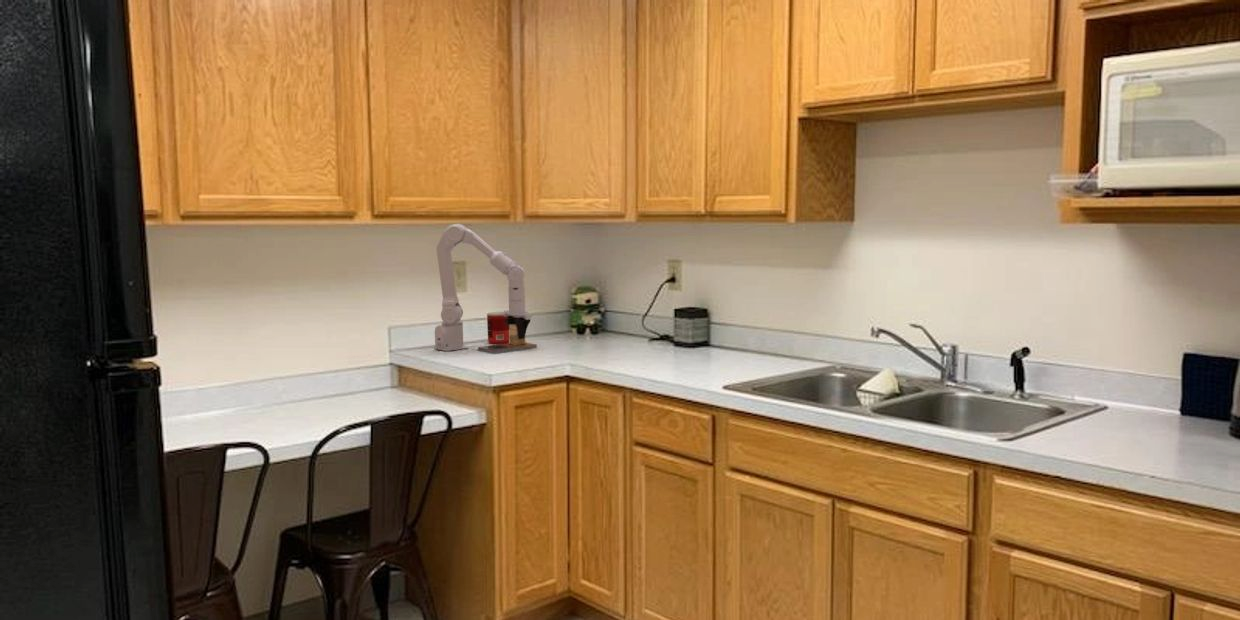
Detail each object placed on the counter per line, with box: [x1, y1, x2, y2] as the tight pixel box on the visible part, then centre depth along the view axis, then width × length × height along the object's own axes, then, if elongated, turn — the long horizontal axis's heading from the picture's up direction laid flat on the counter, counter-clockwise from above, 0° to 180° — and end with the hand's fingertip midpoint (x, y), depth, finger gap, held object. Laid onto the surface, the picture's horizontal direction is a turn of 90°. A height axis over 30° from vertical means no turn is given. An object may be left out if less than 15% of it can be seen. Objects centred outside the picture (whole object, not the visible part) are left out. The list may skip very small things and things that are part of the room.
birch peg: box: [509, 324, 526, 345], centre depth 321 cm, size 4×4×7 cm
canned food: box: [486, 311, 510, 345], centre depth 334 cm, size 8×8×11 cm
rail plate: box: [477, 341, 538, 355], centre depth 319 cm, size 18×10×1 cm, turn 131°
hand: (518, 338), depth 322 cm, fingers closed on birch peg, 4 cm apart
